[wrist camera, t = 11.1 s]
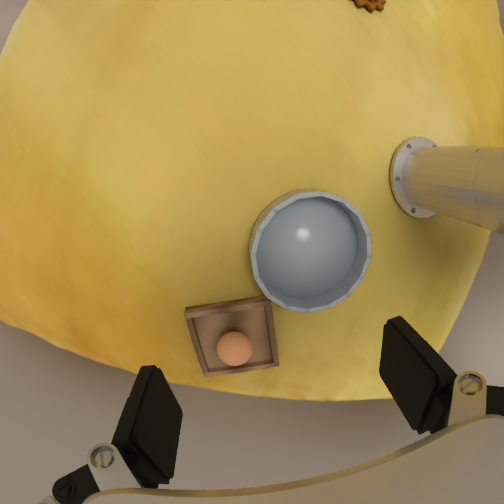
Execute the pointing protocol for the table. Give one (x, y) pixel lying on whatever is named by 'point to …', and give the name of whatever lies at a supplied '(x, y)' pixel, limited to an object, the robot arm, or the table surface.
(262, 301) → the tray
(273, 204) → the bowl
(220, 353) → the ball
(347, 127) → the table surface
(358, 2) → the gear puzzle
